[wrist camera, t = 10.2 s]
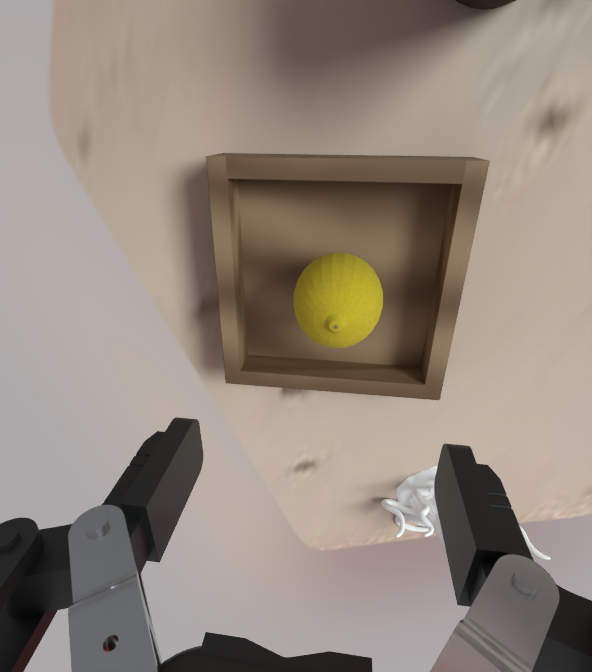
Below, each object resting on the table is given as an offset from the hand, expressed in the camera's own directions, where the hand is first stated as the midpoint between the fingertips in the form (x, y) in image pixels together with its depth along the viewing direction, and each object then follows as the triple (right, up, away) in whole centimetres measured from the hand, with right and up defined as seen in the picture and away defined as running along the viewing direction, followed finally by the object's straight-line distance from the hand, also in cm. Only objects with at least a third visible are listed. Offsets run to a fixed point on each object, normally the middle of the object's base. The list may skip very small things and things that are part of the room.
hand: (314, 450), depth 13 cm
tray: (+2, +8, +16) cm, 18 cm away
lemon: (+3, +8, +16) cm, 18 cm away
